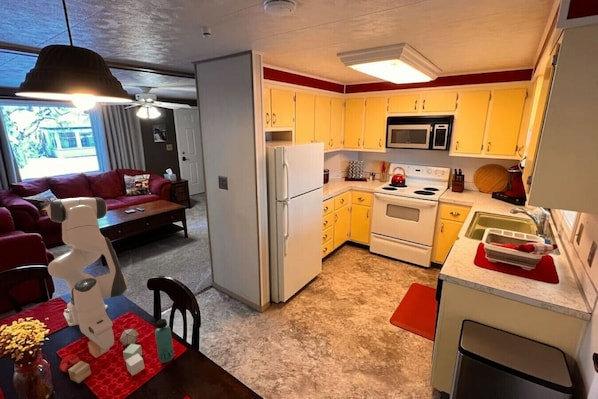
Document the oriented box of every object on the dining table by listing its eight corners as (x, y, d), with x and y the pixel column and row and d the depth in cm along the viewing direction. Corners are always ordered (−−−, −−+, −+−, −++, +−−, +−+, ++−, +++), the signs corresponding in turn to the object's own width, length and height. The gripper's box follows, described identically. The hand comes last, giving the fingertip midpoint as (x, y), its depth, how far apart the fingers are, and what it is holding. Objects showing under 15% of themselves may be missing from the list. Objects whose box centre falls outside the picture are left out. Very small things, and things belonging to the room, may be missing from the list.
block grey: (127, 369, 125) (125, 360, 124) (139, 362, 129) (137, 353, 127) (132, 376, 122) (130, 366, 120) (144, 368, 126) (143, 358, 124)
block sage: (124, 361, 129) (122, 351, 128) (132, 352, 134) (131, 343, 133) (134, 363, 128) (132, 353, 127) (142, 354, 133) (140, 345, 132)
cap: (84, 359, 126) (79, 347, 129) (68, 365, 121) (63, 352, 123) (76, 371, 128) (70, 359, 130) (60, 377, 123) (55, 365, 125)
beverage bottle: (159, 367, 126) (153, 328, 120) (158, 357, 131) (152, 319, 126) (175, 362, 129) (170, 323, 123) (174, 352, 134) (168, 314, 129)
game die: (132, 352, 139) (127, 348, 131) (117, 345, 139) (111, 339, 132) (145, 334, 144) (141, 328, 137) (130, 326, 145) (125, 321, 137)
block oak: (70, 379, 120) (68, 369, 119) (83, 370, 125) (80, 360, 124) (78, 383, 119) (76, 373, 117) (91, 373, 123) (88, 364, 122)
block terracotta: (89, 352, 119) (87, 342, 117) (103, 345, 123) (101, 335, 121) (96, 358, 116) (93, 347, 115) (109, 349, 120) (107, 339, 119)
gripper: (71, 314, 118) (78, 342, 122) (97, 333, 108) (103, 364, 111) (89, 306, 123) (94, 333, 127) (114, 323, 113) (120, 353, 116)
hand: (99, 348), depth 119 cm, fingers closed on block terracotta, 5 cm apart
